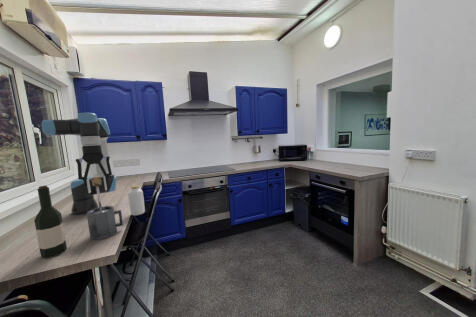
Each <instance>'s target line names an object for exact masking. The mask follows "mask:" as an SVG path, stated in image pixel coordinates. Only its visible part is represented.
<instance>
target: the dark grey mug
mask: <svg viewBox="0 0 476 317" xmlns="http://www.w3.org/2000/svg"><path fill="white" fill-rule="evenodd" d="M101 207H102V210H108V211H105V212H101V213H96V214H93V213H94V212H97V211H100V210H99V207H98V208H95V209H93V210H90V211H88V212H87V213H86V218H87V226H88V230H89V238H90V240H91V241H101V240H104V239H108V238H110V237H112V236H114V235H116V234H117V233H118V227H122V226H124V223H123V216H122V209H119V210H115V208H114V206H112V205H105V206H101ZM116 215H118V218H119V223H116Z"/></svg>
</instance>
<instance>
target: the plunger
mask: <svg viewBox="0 0 476 317" xmlns="http://www.w3.org/2000/svg"><path fill="white" fill-rule="evenodd" d="M91 179H92V184H93V186H96V189H97V194H96V195H97V201H98V202H97V204H98V208H99V210H100V211H97V212H94V213H93V214H96V213H101V212H105V211H108V210H102V207H103V206H102V201H101V194H100V192H99V185H102V184H101V177H100V176H99V177H95V176H93V177H92V176H91Z"/></svg>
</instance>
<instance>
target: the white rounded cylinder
mask: <svg viewBox="0 0 476 317" xmlns="http://www.w3.org/2000/svg"><path fill="white" fill-rule="evenodd" d="M130 188H131V189H130V190H129V191H128V193H127V194H128V202H129V210H130V215H131V216H140V215H143V214H144V213H145V212H146V208H145V198H144V191H143V190H142V189H140V188H139V185H135V186H131V187H130Z"/></svg>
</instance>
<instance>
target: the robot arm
mask: <svg viewBox="0 0 476 317" xmlns="http://www.w3.org/2000/svg"><path fill="white" fill-rule="evenodd" d="M41 129H42V132H43V134H44V135H45V136H68V135H69V136H80V144H81V150H82V156H81V157H80V158H76V159H75V162H76V164H77V179H74V180H72V181H71V182H70V190H71V197H72V207H71V211H70V213H71V215H76V216H77V215H78V216H79V215H84V214H87V212H88V211H90V210H93V209H95V208H99V203H98V202H97V200H96V199H95V195H97V189H96V186H93V184H92V176H88V175H89V173H90V172H89V171H90V168H91V165H95V166H94V167H95V172H96V174H95V175H94V177H99V176H100V177H101V184H102V185H99V192H100V195H101V194H105V193H111V192H115V190H117V175H114V173H113V172H112V168H111V164H110V158H111V157H110V155H109V151H108V150H109V149H108V143H107V142H108V141H107V140H108V138H109V136H110V135H111V131H110V127H109V124H108V121H107V119H106V118H104V117H102V118H101V117H98V116H97V114H96V113H93V112H79V113H77V118H71V119H43V120H42V121H41ZM83 161H84V162H85V163H86V168H85V171H84V174H83V169H82V168H83V167H82V163H83Z"/></svg>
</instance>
